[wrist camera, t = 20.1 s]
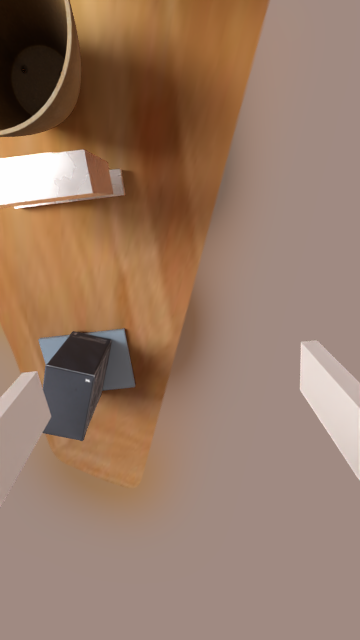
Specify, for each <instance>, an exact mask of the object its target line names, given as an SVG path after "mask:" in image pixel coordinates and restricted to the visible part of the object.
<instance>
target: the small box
mask: <svg viewBox="0 0 360 640" xmlns="http://www.w3.org/2000/svg"><path fill="white" fill-rule="evenodd" d="M111 344H112V340H111V339H106V338H102V337H96V336H92V335H88V334H85V333H80V332H74V331H73V332H72V333H71V334H70V336H69V337H68V338H67V339H66V341H65V342H64V343H63V345H62V346H61V347H60V348H59V350H58V351H57V352H56V353H55V355H54V356H53V357H52V358H51V360H50V361H49V362H48V363H47V364H46V366H45V375H44V384H43V392H44V395H45V398H46V401H47V404H48V407H49V411H50V414H51V418H50V420H49V422H48V424H47V425H46V427H45V429H44V431H43V432H42V433H46V434H50V435H56V436H61V437H66V438H71V439H76V440H80V441H83V440H84V437H85V434H86V431H87V428H88V426H89V423H90V420H91V418H92V416H93V413H94V411H95V408H96V406H97V403H98V401H99V399H100V397H101V393H102V389H103V384H104V379H105V374H106V369H107V365H108V360H109V355H110V349H111Z"/></svg>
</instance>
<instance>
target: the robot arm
mask: <svg viewBox="0 0 360 640" xmlns="http://www.w3.org/2000/svg"><path fill="white" fill-rule="evenodd" d="M300 391H301V392H302V394H303V395H304V397H305V398H306V400H307V401H308V403H309V404H310V406H311V407H312V409H313V411H314V412H315V413H316V415H317V416H318V418H319V420H320V421H321V423H322V424H323V426H324V427H325V429H326V430H327V432H328V433H329V435H330V436H331V438H332V439H333V441H334V442H335V444H336V446H337V447H338V449H339V450H340V451H341V453H342V454H343V456H344V458H345V459H346V461H347V462H348V464H349V465H350V467H351V468H352V470H353V471H354V473H355V474H356V476H357V478H358V479H359V481H360V383H359V382H358V381H357V380H356V379H355V378H354V377H353V376H352V375H351V374H350V373H349V372H348V371H347V370H346V369H345V368H344V367H343V366H342V365H341V364H340V363H339V362H338V361H337V360H336V359H335V358H334V357H333V356H332V355H331V354H330V353H329V352H328V351H327V350H326V349H325V348H324V347H323V346H322V345H321V344H320V343H319V342H318V341H317V340H314V341H306V342H301V366H300ZM50 418H51V414H50V411H49V407H48V404H47V401H46V398H45V395H44V392H43V388H42V385H41V382H40V379H39V376H38V373H37V371H36V372H27V373H22V374H21V375H20V376H19V377H18V378H17V379H16V381H15V382H14V383H13V384H12V385H11V386H10V387H9V389H8V390H7V391H6V392H5V393H4V394H3V395H2V397H1V398H0V507H1V506H2V504H3V502H4V500H5V498H6V497H7V495H8V493H9V491H10V489H11V488H12V486H13V484H14V482H15V481H16V479H17V477H18V475H19V473H20V472H21V470H22V468H23V466H24V464H25V463H26V461H27V459H28V457H29V455H30V454H31V452H32V450H33V448H34V447H35V445H36V443H37V441H38V439H39V438H40V436H41V434H42V432H43V431H44V429H45V427H46V425H47V424H48V422H49V420H50Z"/></svg>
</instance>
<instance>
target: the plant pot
mask: <svg viewBox="0 0 360 640" xmlns="http://www.w3.org/2000/svg"><path fill="white" fill-rule="evenodd" d="M22 69H25V71H26V73H24V72H23V71H22ZM61 72H62V73H61ZM60 73H61V74H60ZM80 85H81V56H80V47H79V40H78V35H77V30H76V25H75V21H74V16H73V12H72V8H71V4H70V0H0V137H16V136H26V135H32V134H36V133H40V132H43V131H46V130H49V129H51V128H53V127H55V126H57V125H59V124H60V123H62V122H63V121H64V120H65V119H66V118H67V117H68V116H69V115H70V114H71V112H72V111H73V109H74V107H75V105H76V103H77V100H78V96H79V92H80Z"/></svg>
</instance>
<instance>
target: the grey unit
mask: <svg viewBox="0 0 360 640" xmlns="http://www.w3.org/2000/svg"><path fill="white" fill-rule="evenodd" d="M122 195H126V193H125V187H124V181H123V175H122V170H121V169H114V170H109V166H108V162H106V161H105V160H103V159H101V158H99V157H97V156H95V155H93V154H92V153H90V152H88V151H86V150H84V149H83V150H75V151H68V152H60V153H53V152H50V153H42V154H34V155H26V156H18V157H11V158H3V159H0V208H7V207H15V209H16V208H26V207H34V206H42V205H50V204H58V203H66V202H74V201H82V200H90V199H98V198H106V197H114V196H122Z"/></svg>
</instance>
